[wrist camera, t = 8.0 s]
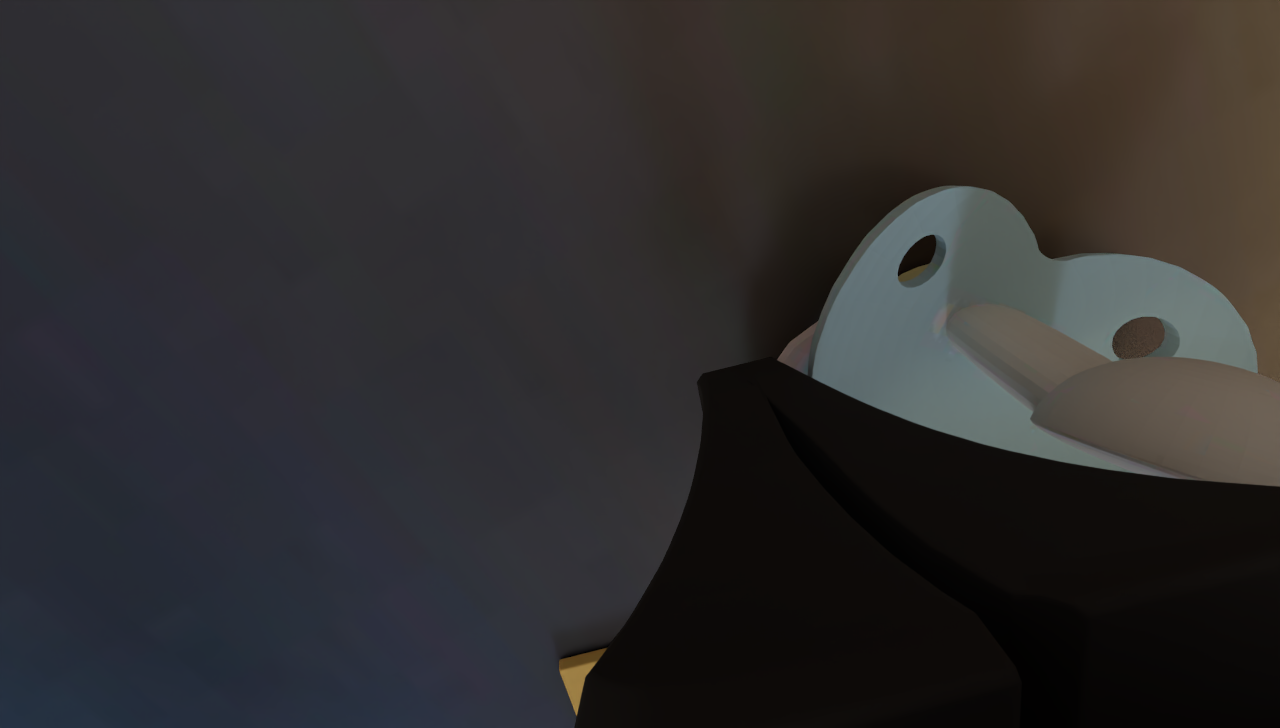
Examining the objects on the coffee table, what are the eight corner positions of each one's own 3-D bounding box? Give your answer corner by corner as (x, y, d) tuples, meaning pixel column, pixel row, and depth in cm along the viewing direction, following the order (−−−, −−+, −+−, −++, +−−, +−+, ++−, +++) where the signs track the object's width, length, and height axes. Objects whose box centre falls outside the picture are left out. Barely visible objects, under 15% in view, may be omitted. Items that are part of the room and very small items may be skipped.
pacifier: (1006, 528, 15) (1193, 270, 12) (1281, 841, 9) (1714, 483, 7) (690, 448, 13) (837, 128, 11) (794, 780, 7) (1156, 260, 5)
